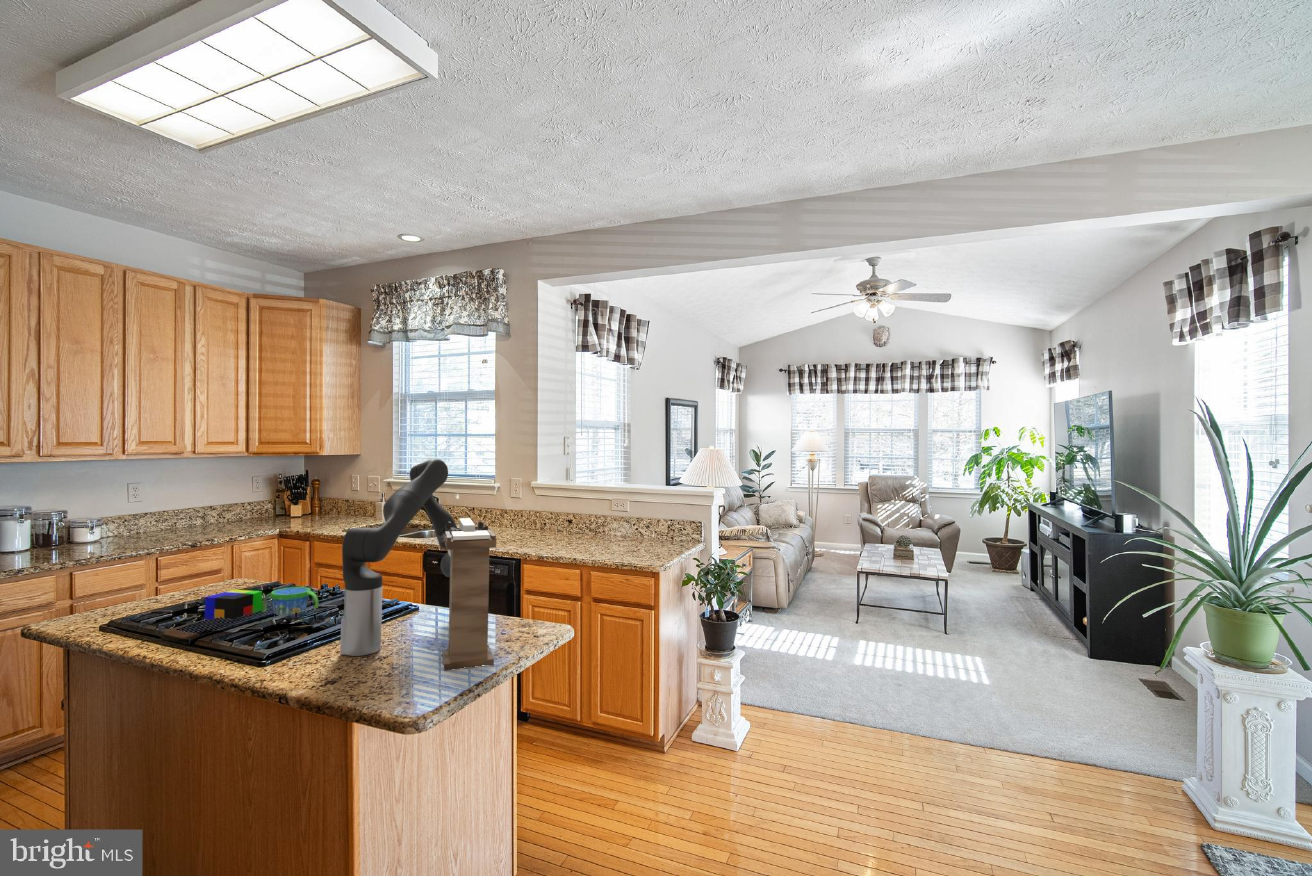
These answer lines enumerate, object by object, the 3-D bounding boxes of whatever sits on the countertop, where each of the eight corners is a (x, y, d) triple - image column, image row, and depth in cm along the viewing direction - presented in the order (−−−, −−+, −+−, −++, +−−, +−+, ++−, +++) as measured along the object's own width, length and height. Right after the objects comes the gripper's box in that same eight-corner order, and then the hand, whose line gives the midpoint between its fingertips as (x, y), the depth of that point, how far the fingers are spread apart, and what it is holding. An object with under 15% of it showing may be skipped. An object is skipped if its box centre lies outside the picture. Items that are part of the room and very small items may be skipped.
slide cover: (448, 527, 173) (448, 518, 173) (480, 526, 176) (480, 517, 176) (453, 540, 149) (453, 530, 149) (490, 538, 152) (490, 528, 152)
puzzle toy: (204, 630, 177) (205, 597, 177) (233, 621, 187) (234, 589, 187) (233, 632, 175) (234, 598, 176) (261, 623, 185) (262, 591, 186)
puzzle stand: (442, 655, 159) (444, 531, 160) (488, 650, 163) (490, 529, 164) (443, 670, 148) (446, 537, 148) (493, 664, 152) (496, 535, 153)
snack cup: (323, 618, 192) (324, 586, 192) (307, 627, 181) (308, 594, 181) (273, 618, 190) (274, 586, 191) (253, 628, 180) (254, 594, 180)
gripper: (436, 534, 185) (439, 513, 172) (484, 533, 190) (489, 511, 177) (436, 557, 181) (438, 537, 168) (485, 555, 186) (490, 535, 174)
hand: (465, 524), depth 173 cm, fingers open, 8 cm apart
